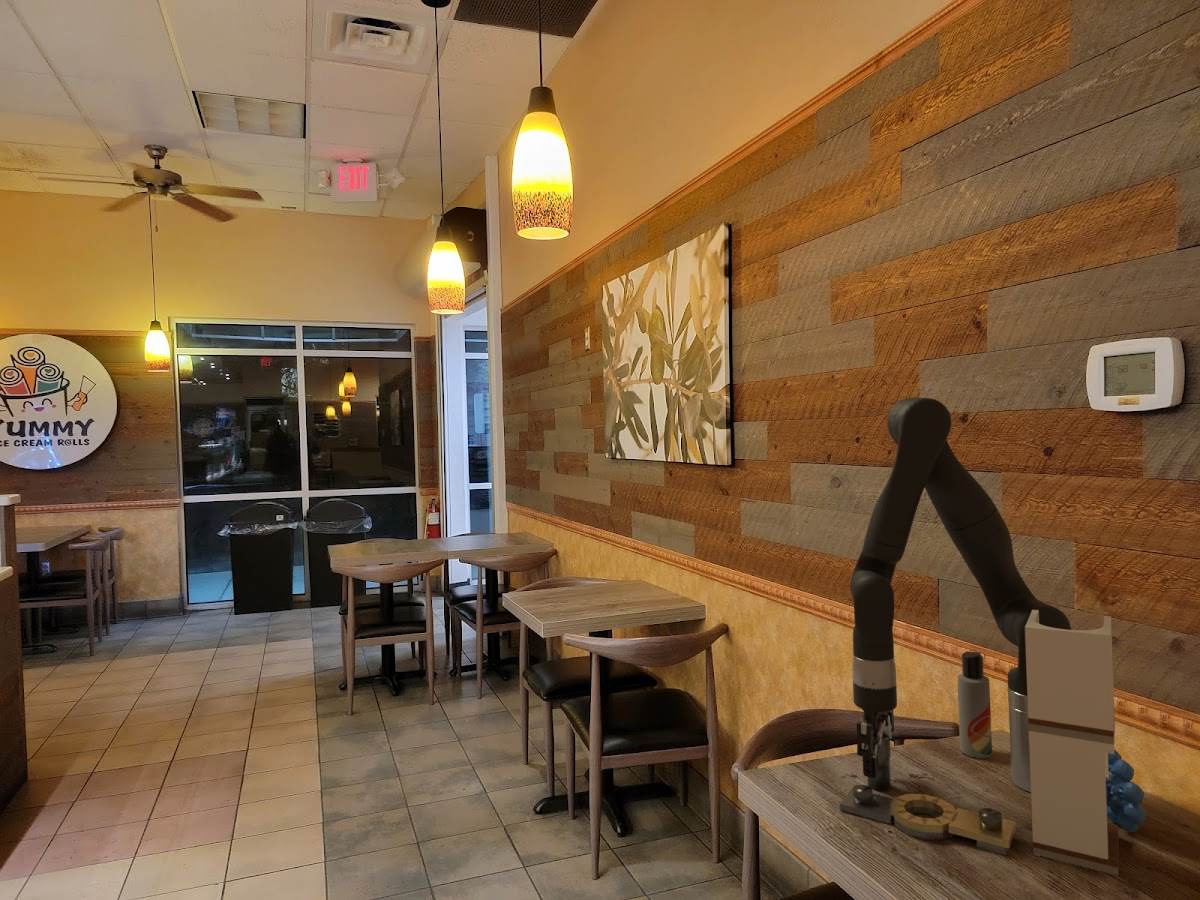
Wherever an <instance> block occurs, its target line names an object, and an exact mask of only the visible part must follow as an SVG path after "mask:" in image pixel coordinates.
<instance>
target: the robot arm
mask: <svg viewBox="0 0 1200 900" xmlns="http://www.w3.org/2000/svg"><path fill="white" fill-rule="evenodd" d="M951 416H952V415H951V414H950V411H949V409H948V408H947V406H945V404H943V403H942V402H941V401H939V400H938V399H935V398H929V397H908V398H907V397H906V398H903V399H900V400H898V401H897V402H896V403H895V404H893V405H892V406H891V408H890V410H889V411H888V415H887V418H886V426H887V430H888V434H889V435H890V437H891V439H892V440H893V442H894V443H895V444H896V446H897V449H896V456H895V459H894V464H893V467H892V470H891V473H890V475H889V478H888V480H887V482H886V484H885V485H884V487H883V490H882V492H881V494H880V495H879V497H878V499H877V501H876V503H875V506H874V508H873V510H872V513H871V516H870V520H869V523H868V526H867V529H866V533H865V537H864V541H863V547H862V549H861V550H862V551H861V552H860V554H859V557H858V559H857V561H856V564H855V566H854V568H853V572H852V576H851V579H850V582H849V583H850V584H849V590H850V593H851V596H852V602H853V615H854V617H853V618H854V627H853V631H852V650H853V651H852V653H853V654H852V657H853V658H852V668H851V669H852V697H853V698H852V699H853V700H852V701H853V703H854V705H855V706H856V707H857V708H859V709H861V710H862V711H863V715H862V716H861V721H859V720H858V721H857V722H856V755H857V756H859V757H862V775H863V776H864V777H871V778H875V777H876V776H877V765H876V756H877V747H878V746H880V745H881V741H882V734H884V735H886V736H888V738H889V754H890V758H891V755H892V754H891V739H892V737H893V735H892V733H895V718H894V710H895V709H896V708H897V707H898V692H897V691H898V690H897V689H898V688H897V668H896V661H895V648H894V647H895V645H894V632H893V631H894V630H893V627H894V617H895V593H894V589H893V586H892V581H893V577H894V573H895V570H896V567H897V564H898V563H899V562H900V561H901V559H903V556H904V554H905V550H906V547H907V544H908V540H909V538H910V533H911V530H912V526H913V523H914V519H915V515H916V512H917V509H918V506H919V504H920V500H921V498H922V495H923V492H924V489H925V491H926V493H927V496H928V497H929V500H930V501H931V503H932V505H933V507H934V509H935V511H936V513H937V515H938V517H939V519H940V520H941V523H942V525H943V527H944V529H945V530H946V532H947V534H948V535H949V537H950V540H951V541H952V542H953V544H954V546H955V548H956V549H957V551H958V552H959V553H960V555H961V557H962V559H963V561H964V563H966V566H967V568H968V569H969V571H970V573H972V575H973V576H974V578H975V580H976V582H977V583H978V585H979V587H980V589H981V591H982V593H983V595H984V597H985V599H986V602H987V605H988V606H989V609H990V612H991V613H992V616H993V618H994V621H995V624H996V626H997V627H998V629H999V631H1000V633H1001V634H1002V636H1003V637H1004V638H1005V639H1006V640H1007V641H1008V642H1009V643H1011V644H1013V646H1016V647H1018V650H1017V651H1018V652H1017V655H1018V657H1017V658H1018V659H1017V667H1014V668H1011V669H1010V670H1009V671H1008V673H1007V693H1008V694H1007V695H1008V696H1007V697H1008V698H1007V699H1008V701H1007V702H1008V719H1009V720H1008V722H1009V723H1008V724H1009V725H1008V727H1009V748H1010V750H1009V751H1010V775H1011V781H1012V783H1013V784H1014V785H1015V786H1016V787H1018V788H1020V789H1021V790H1024V791H1026V792H1029V793H1031V776H1030V750H1029V723H1028V696H1027V669H1026V642H1025V626H1026V624H1027V621H1028V619H1029V616H1030V614H1031V612H1032V610H1039V624H1041V625H1044V626H1047V627H1052V628H1057V629H1065V630H1072V626H1071V623H1070V621H1069V618H1068V617H1067V615H1066V614H1065V613H1064V612H1063V611H1062V610H1061V609H1059V608H1057V607H1055V606H1053V605H1050V604H1048V603H1045V602H1043V601H1041V600H1039V599H1038V598H1037V597H1036V596H1035V595H1034V594H1033V593H1032V591H1031V589H1030V588H1029V587H1028V585H1027V584H1026V582H1025V581H1024V579H1023V577H1022V575H1021V574H1020V573H1019V571H1018V567H1017V565H1016V563H1015V557H1014V548H1013V542H1012V538H1011V533H1010V531H1009V528H1008V526H1007V524H1006V521H1005V520H1004V518H1003V517H1002V515H1001V513H1000V511H999V509H998V508H997V506H996V504H995V503H994V501H993V500H992V498H991V497H990V496H989V494H988V492H987V491H986V490H985V489H984V488H983V487H982V485H981V484H980V483H979V482H978V481H977V480H976V479H975V477H974V476H973V475H972V474H971V473H970V472H969V471H968V470H967V469H966V467H965V466H964V465H963V464H961V462H960V461H959V460H958V458H957V456H956V455H955V454H954V451H953V450H952V448H951V446H950V444H949V442H948V440H947V439H948V438H949V435H950V432H951V430H952V417H951ZM873 737H874V738H876V739H873ZM866 745H868V749H866Z"/></svg>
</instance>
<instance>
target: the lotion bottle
mask: <svg viewBox="0 0 1200 900" xmlns="http://www.w3.org/2000/svg"><path fill="white" fill-rule="evenodd" d="M961 667H962V669H961V670H962V673H959V674H958V675H957V679H956V680H957V702H958V704H957V705H958V707H957V708H958V724H959V725H958V728H959V729H958V731H959V748H960V752H961V751H962V752H963V753H965V754H966V755H965V754H964V755H965V756H967V755H968V756H967V757H970V756H971V757H970V758H973V757H976V758H975V759H988V758H990V757H991V756H993V755H992V754H993V739H992V738H993V737H992V717H991V716H992V715H991V714H992V713H991V712H992V711H991V691H990V690H991V689H990V687H991V685H990V679H989V677H988V676H986V675H984V657H983V655H982V654H981V653H980V652H979V651H965V652H963V653H962V654H961ZM962 752H961V753H962ZM963 753H962V754H963Z"/></svg>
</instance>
